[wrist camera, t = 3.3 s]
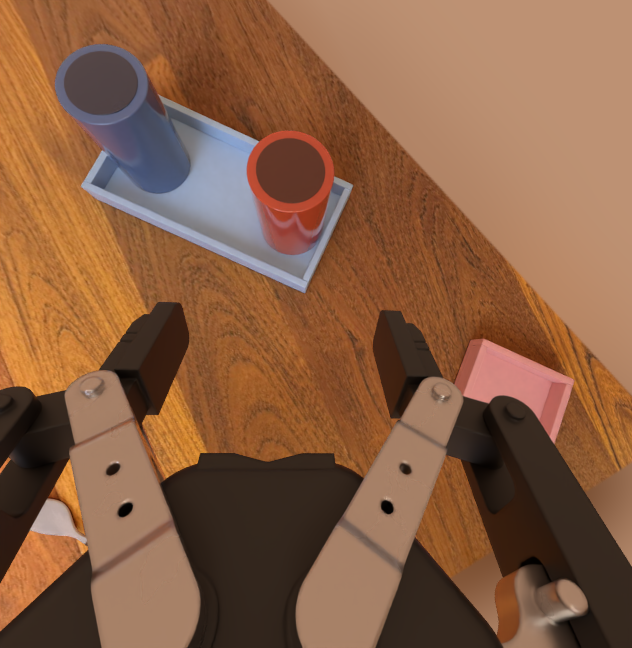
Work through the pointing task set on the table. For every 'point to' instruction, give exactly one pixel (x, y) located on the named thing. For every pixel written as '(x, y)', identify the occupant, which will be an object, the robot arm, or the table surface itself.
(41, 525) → the fork
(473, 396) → the pink tray
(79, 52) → the blue pot
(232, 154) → the blue tray
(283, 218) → the red spoon pot
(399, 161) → the table surface
